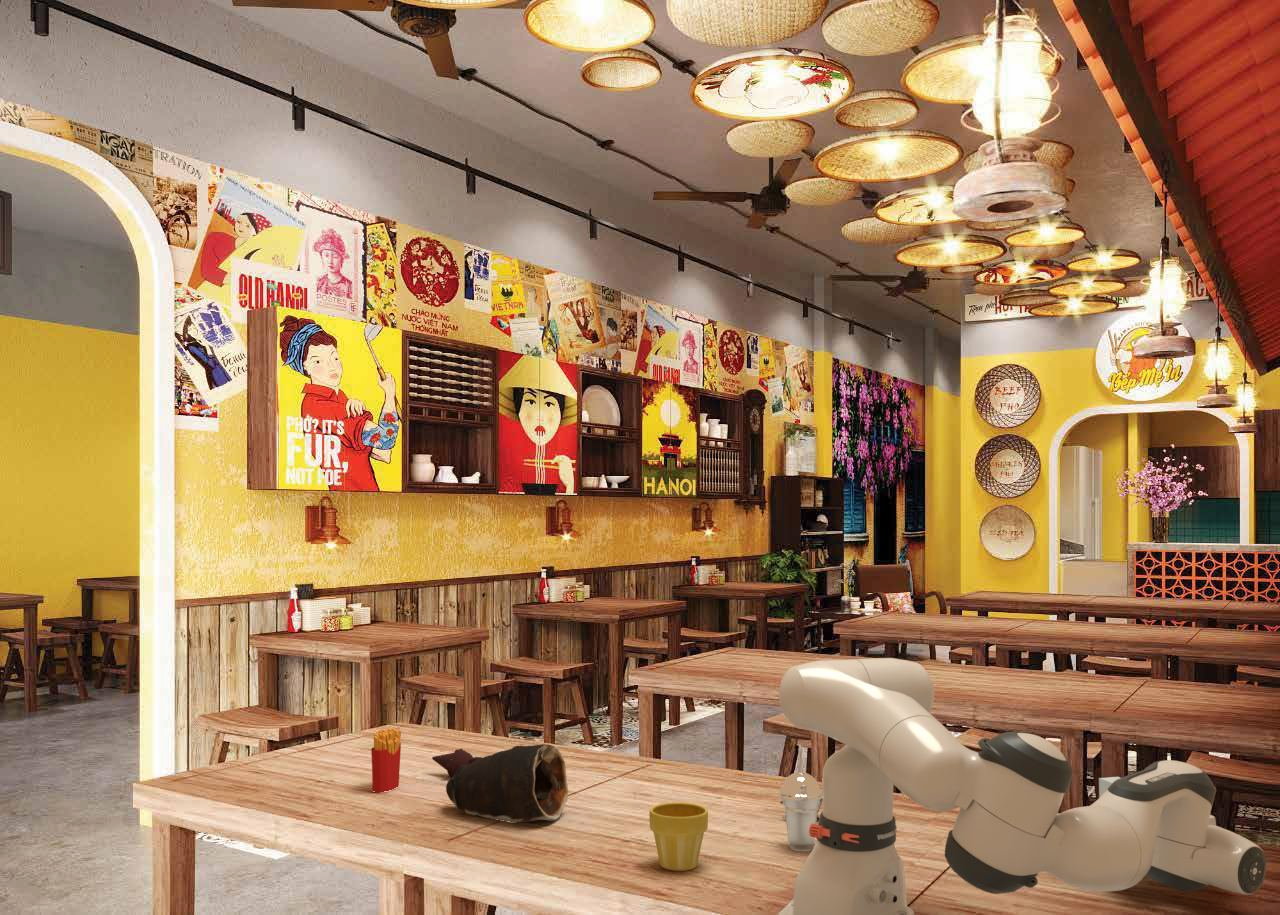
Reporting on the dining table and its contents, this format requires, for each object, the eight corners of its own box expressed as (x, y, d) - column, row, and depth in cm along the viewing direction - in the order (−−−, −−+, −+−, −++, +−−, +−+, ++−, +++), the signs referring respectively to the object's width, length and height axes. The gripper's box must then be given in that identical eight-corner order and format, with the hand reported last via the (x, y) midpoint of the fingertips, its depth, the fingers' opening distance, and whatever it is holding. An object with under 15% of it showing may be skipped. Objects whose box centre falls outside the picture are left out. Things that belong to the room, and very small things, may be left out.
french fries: (382, 794, 235) (383, 735, 236) (366, 792, 236) (367, 733, 237) (405, 784, 244) (406, 727, 244) (389, 783, 245) (390, 725, 246)
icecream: (421, 751, 250) (474, 763, 243) (440, 737, 256) (492, 749, 249) (423, 778, 251) (476, 791, 244) (442, 763, 258) (494, 776, 251)
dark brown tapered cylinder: (458, 744, 232) (559, 731, 223) (473, 813, 232) (576, 803, 223) (421, 769, 218) (528, 756, 209) (438, 842, 218) (545, 832, 209)
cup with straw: (833, 847, 199) (832, 739, 200) (806, 858, 192) (805, 747, 193) (794, 838, 205) (794, 732, 206) (767, 848, 198) (767, 740, 199)
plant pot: (673, 851, 196) (673, 797, 197) (719, 863, 190) (719, 808, 190) (637, 866, 188) (637, 810, 189) (684, 879, 182) (684, 821, 182)
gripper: (1121, 865, 170) (1063, 839, 184) (1223, 853, 176) (1160, 829, 190) (1120, 825, 171) (1063, 802, 184) (1222, 815, 177) (1160, 793, 190)
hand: (1113, 816), depth 187 cm, fingers closed on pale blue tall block, 4 cm apart
